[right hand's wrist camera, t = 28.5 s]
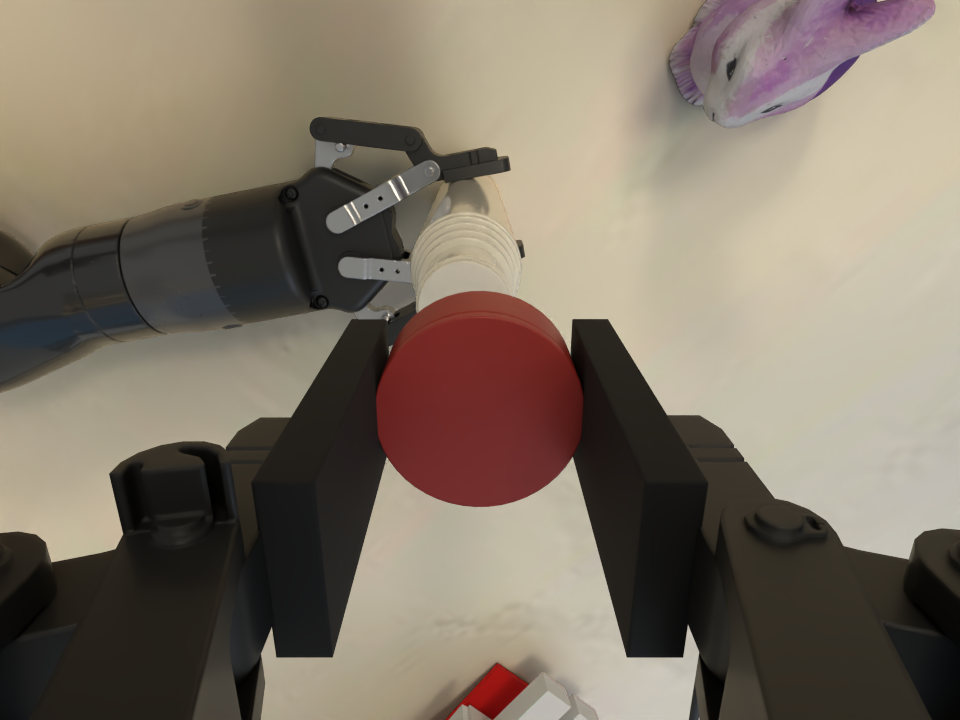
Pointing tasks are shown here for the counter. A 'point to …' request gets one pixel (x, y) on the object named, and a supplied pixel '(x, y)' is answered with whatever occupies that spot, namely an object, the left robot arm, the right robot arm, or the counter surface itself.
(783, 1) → the figurine
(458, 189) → the bottle
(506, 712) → the toy
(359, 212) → the left robot arm
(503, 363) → the cap
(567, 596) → the counter surface
